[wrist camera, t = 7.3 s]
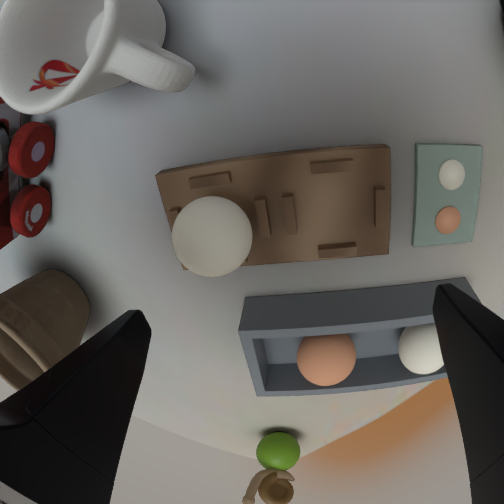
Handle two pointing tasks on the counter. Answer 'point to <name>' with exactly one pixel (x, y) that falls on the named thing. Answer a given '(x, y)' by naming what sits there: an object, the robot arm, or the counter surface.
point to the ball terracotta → (326, 358)
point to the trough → (337, 322)
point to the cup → (83, 51)
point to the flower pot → (40, 325)
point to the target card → (446, 193)
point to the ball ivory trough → (420, 349)
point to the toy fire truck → (26, 165)
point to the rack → (297, 200)
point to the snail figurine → (274, 469)
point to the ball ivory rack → (212, 236)
